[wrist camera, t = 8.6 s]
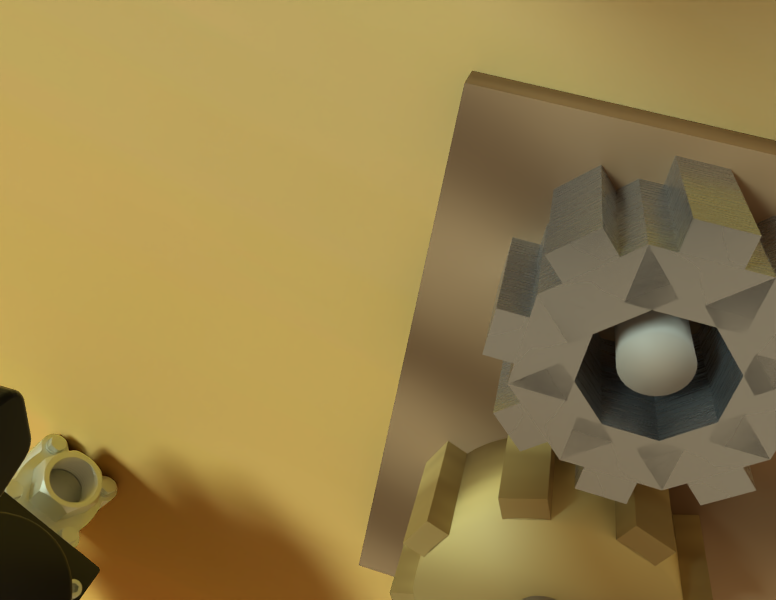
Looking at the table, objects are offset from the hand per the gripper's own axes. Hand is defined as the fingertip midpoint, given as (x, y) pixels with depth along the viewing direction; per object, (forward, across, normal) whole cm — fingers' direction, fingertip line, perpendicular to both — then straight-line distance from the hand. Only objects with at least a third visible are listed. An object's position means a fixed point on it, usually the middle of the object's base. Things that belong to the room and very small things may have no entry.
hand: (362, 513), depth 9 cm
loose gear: (+10, -4, +2) cm, 12 cm away
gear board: (+12, -6, +6) cm, 14 cm away
